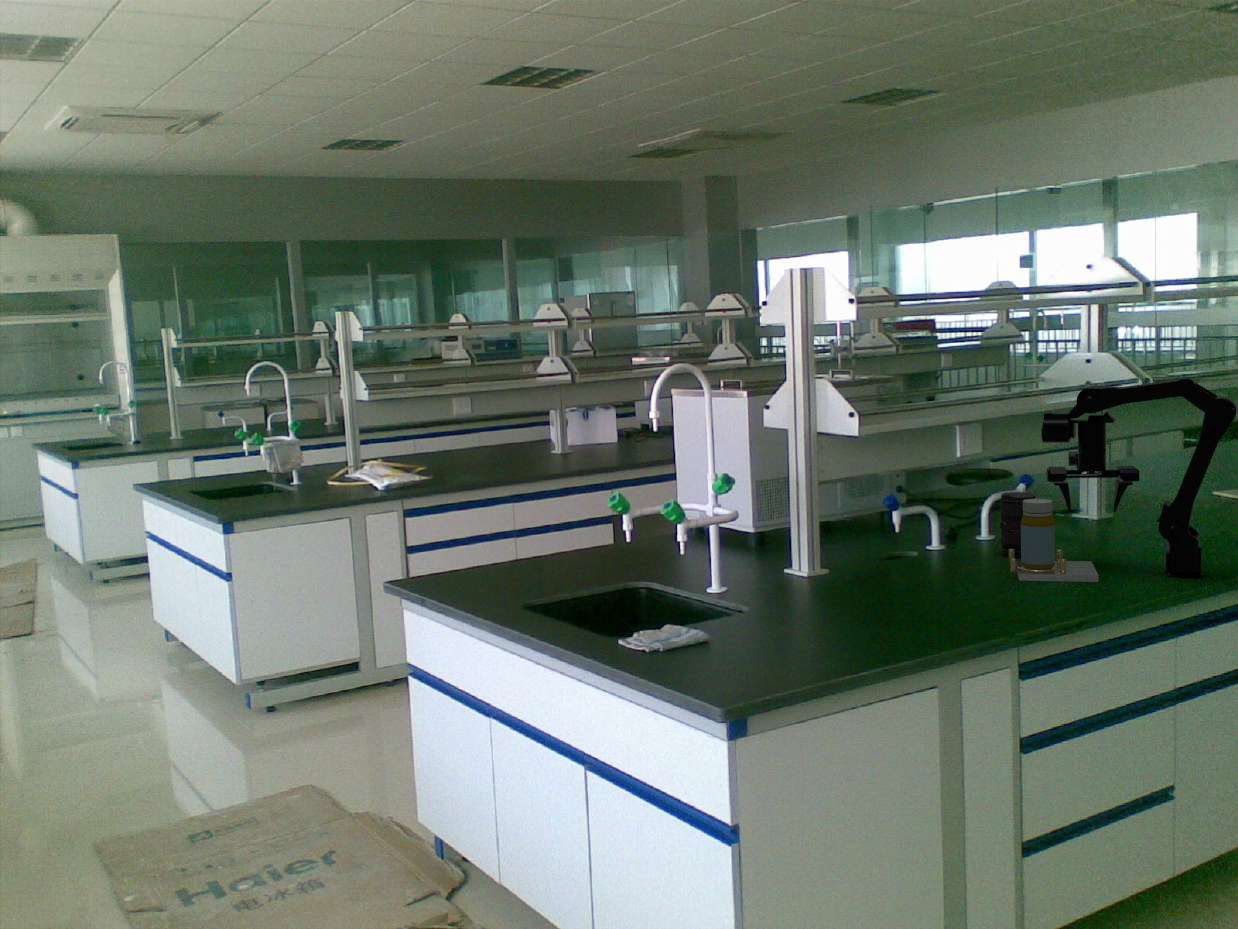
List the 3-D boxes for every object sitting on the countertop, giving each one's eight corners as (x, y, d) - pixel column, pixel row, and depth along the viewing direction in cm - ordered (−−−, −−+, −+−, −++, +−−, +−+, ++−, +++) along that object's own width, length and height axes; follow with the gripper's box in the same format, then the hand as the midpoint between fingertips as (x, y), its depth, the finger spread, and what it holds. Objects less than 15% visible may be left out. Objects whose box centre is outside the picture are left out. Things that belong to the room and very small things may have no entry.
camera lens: (1014, 560, 257) (1013, 497, 256) (994, 554, 265) (993, 493, 263) (1043, 556, 259) (1043, 494, 258) (1022, 550, 267) (1022, 490, 265)
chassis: (1091, 567, 245) (1091, 548, 245) (1098, 582, 232) (1098, 561, 232) (1008, 566, 251) (1008, 547, 250) (1010, 580, 238) (1010, 560, 237)
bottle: (1057, 564, 243) (1056, 498, 241) (1052, 571, 237) (1051, 503, 235) (1024, 563, 247) (1023, 498, 245) (1018, 569, 241) (1018, 502, 239)
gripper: (1132, 438, 246) (1132, 506, 248) (1044, 439, 252) (1044, 506, 253) (1140, 443, 235) (1139, 514, 237) (1047, 445, 241) (1048, 514, 243)
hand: (1091, 512), depth 243 cm, fingers open, 9 cm apart
